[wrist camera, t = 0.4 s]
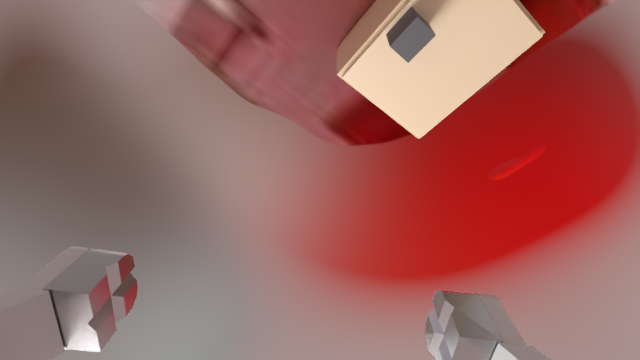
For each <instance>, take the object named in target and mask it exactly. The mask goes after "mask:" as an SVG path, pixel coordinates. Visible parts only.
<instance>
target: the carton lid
mask: <svg viewBox="0 0 640 360" xmlns="http://www.w3.org/2000/svg"><path fill="white" fill-rule="evenodd" d="M542 36H543V35H542V34H541V33H540V32H539V31H538V29H537V28H536V27H535V26H534V25H533V23H532V22H531V21H530V20H529V19H528V17H527V16H526V15H525V14H524V13H523V11H522V10H521V9H520V8H519V7H518V6H517V4H516V3H515V2H514V1H513V0H408V1H407V2H406V3H405V4H404V6H403V7H402V8H401V9H400V10H399V11H398V12H397V14H396V15H395V16H394V17H393V18H392V19H391V20H390V21H389V23H388V24H387V25H386V26H385V27H384V28H383V29H382V31H381V32H380V33H379V34H378V35H377V36H376V37H375V38H374V40H373V41H372V42H371V43H370V44H369V45H368V46H367V48H366V49H365V50H364V51H363V52H362V53H361V54H360V55H359V57H358V58H357V59H356V60H355V61H354V62H353V63H352V65H351V66H350V67H349V68H348V69H347V70H346V71H345V72H344V74H343V75H342V78H343V79H344V80H346V81H347V82H348V83H350V84H351V85H352V86H353V87H355V88H356V89H357V90H358V91H360V92H361V93H362V94H363V95H365V96H366V97H367V98H369V99H370V100H371V101H372V102H374V103H375V104H376V105H377V106H379V107H380V108H381V109H382V110H384V111H385V112H386V113H388V114H389V115H390V116H391V117H393V118H394V119H395V120H396V121H398V122H399V123H400V124H402V125H403V126H404V127H405V128H407V129H408V130H409V131H410V132H412V133H413V134H414V135H415V136H417V137H418V138H419V139H420V138H421V137H422V136H424V135H425V134H426V133H427V132H428V131H429V130H431V129H432V128H433V127H434V126H435V125H437V124H438V123H439V122H440V121H442V120H443V119H444V118H445V117H446V116H448V115H449V114H450V113H451V112H452V111H454V110H455V109H456V108H457V107H458V106H460V104H462V103H463V102H464V101H466V100H467V99H468V98H469V97H470V96H472V95H473V94H474V93H475V92H476V91H478V90H479V89H480V88H481V87H482V86H484V85H485V84H486V83H487V82H488V81H490V80H491V79H492V78H493V77H494V76H496V75H497V74H498V73H499V72H500V71H502V70H503V69H504V68H505V67H506V66H508V65H509V64H510V63H511V62H512V61H514V60H515V59H516V58H517V57H518V56H520V55H521V54H522V53H523V52H524V51H526V50H527V49H528V48H529V47H530V46H532V45H533V44H534V43H535V42H536V41H538V40H539V39H540V38H541V37H542Z"/></svg>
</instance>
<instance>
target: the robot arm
mask: <svg viewBox="0 0 640 360" xmlns="http://www.w3.org/2000/svg"><path fill="white" fill-rule="evenodd" d="M134 267H135V264H134V259H133V256H131V255H130V254H127V253H120V252H113V251H105V250H98V249H89V248H81V247H71V248H67V249H66V250H65V251H63V252H62V253H61V254H60V255H59V256H57V257H56V258H55V259H54V260H53V261H51V262H50V263H49V264H48V265H46V266H45V267H44V268H43V269H41V270H40V271H39V272H38V273H37V274H36V275H34V276H33V277H32V278H31V279H29V280H28V281H27V282H26V283H24V284H23V285H22V286H21V287H11V288H8V289H6V290H3V291H0V360H52V359H53V358H55V357H56V356H58V355H59V354H61V353H62V352H64V351H65V349H72V350H83V351H95V352H101V351H102V349H103V348H104V346H105V345H106V344H107V342H108V341H109V339H110V338H111V337H112V335H113V334H114V333H115V331H116V323H115V322H117V321H119V320H120V319H122V318H124V317H126V316H127V315H128V313H129V312H130V310H131V309H132V307H133V305H134V302H135V299H136V297H137V288H138V287H137V280H136V279H135V278H134V277H133V276H132V274H131V273H130V272H131V271H132V270H133V268H134ZM432 302H433V305H434V308H435V309H434V310H433V311H432V312H430V313H429V314H428V316H427V320H426V324H425V339H426V344H427V348H428V351H429V352H430V353H431V354H432V355H433V356H434V357H435V360H550V359H549V358H548V357H546V356H545V355H544V354H542V353H541V352H540V351H538V350H537V349H536V348H534V347H533V346H527V345H526V343H525V342H524V340H523V339H522V337H521V335H520V333H519V332H518V330H517V328H516V327H515V325H514V324H513V322H512V320H511V319H510V317H509V315H508V313H507V312H506V310H505V308H504V307H503V305H502V303H501V302H500V300H499V299H498V298H497V297H496V296H495V295H487V294H476V293H475V294H471V293H461V292H453V291H444V290H437V291H436V293H435V294H434V297H433V300H432Z"/></svg>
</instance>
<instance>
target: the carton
mask: <svg viewBox="0 0 640 360" xmlns="http://www.w3.org/2000/svg"><path fill="white" fill-rule="evenodd" d="M407 1H408V0H376V1H375V2H374V3H373V4H372V6H371V7H370V8H369V9H368V11H367V12H366V13H365V14H364V15H363V17H362V18H361V19H360V20H359V21H358V23H357V24H356V25H355V26H354V28H353V29H352V30H351V31H350V32H349V34H348V35H347V36H346V37H345V38H344V40H343V41H342V42H341V43H340V45H339V46H338V47H337V75H338V76H339V77H340V78H342V75H343V74H344V72H345V71H346V70H347V69H348V68H349V67H350V66H351V65H352V63H353V62H354V61H355V60H356V59H357V58H358V57H359V55H360V54H361V53H362V52H363V51H364V50H365V49H366V48H367V46H368V45H369V44H370V43H371V42H372V41H373V40H374V38H375V37H376V36H377V35H378V34H379V33H380V32H381V31H382V29H383V28H384V27H385V26H386V25H387V24H388V23H389V21H390V20H391V19H392V18H393V17H394V16H395V15H396V14H397V12H398V11H399V10H400V9H401V8H402V7H403V6H404V4H405V3H406V2H407ZM513 1H514V2H515V3H516V4H517V6H518V7H519V8H520V9H521V10H522V11H523V13H524V14H525V15H526V16H527V17H528V19H529V20H530V21H531V22H532V23H533V25H534V26H535V27H536V28H537V29H538V31H539V32H540V33H541V34H542V35H543V34H544V33H545V31H544V30H543V29H542V28H541V26H540V25H539V24H538V23H537V22H536V20H535V19H534V18H533V17H532V16H531V14H530V13H529V12H528V11H527V10H526V8H525V7H524V6H523V5H522V4H521V2H520V1H519V0H513ZM342 79H343V78H342ZM343 80H344V79H343ZM344 81H346V80H344ZM346 82H347V81H346ZM347 83H348V82H347ZM348 84H349V85H351V84H350V83H348ZM351 86H352V85H351ZM352 87H353V86H352ZM353 88H354V89H356V88H355V87H353ZM356 90H357V89H356ZM357 91H358V90H357ZM358 92H360V91H358ZM360 93H361V92H360ZM361 94H362V93H361ZM362 95H363V94H362ZM363 96H365V95H363ZM365 97H366V96H365ZM366 98H367V97H366ZM367 99H368V100H370V99H369V98H367ZM370 101H371V100H370ZM371 102H372V101H371ZM372 103H373V104H375V103H374V102H372ZM375 105H376V104H375ZM376 106H377V105H376ZM377 107H379V106H377ZM379 108H380V107H379ZM380 109H381V108H380ZM381 110H382V109H381ZM382 111H384V110H382ZM384 112H385V111H384ZM385 113H386V112H385ZM386 114H387V115H389V114H388V113H386ZM389 116H390V115H389ZM390 117H391V116H390ZM391 118H393V117H391ZM393 119H394V118H393ZM394 120H395V119H394ZM395 121H396V120H395ZM396 122H398V121H396ZM398 123H399V122H398ZM399 124H400V123H399ZM400 125H401V126H403V125H402V124H400ZM403 127H404V126H403ZM404 128H405V127H404ZM405 129H407V128H405ZM407 130H408V129H407ZM408 131H409V130H408ZM409 132H410V131H409ZM410 133H412V132H410ZM412 134H413V133H412ZM413 135H414V134H413ZM414 136H415V135H414ZM415 137H417V136H415ZM417 138H418V137H417Z"/></svg>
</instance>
